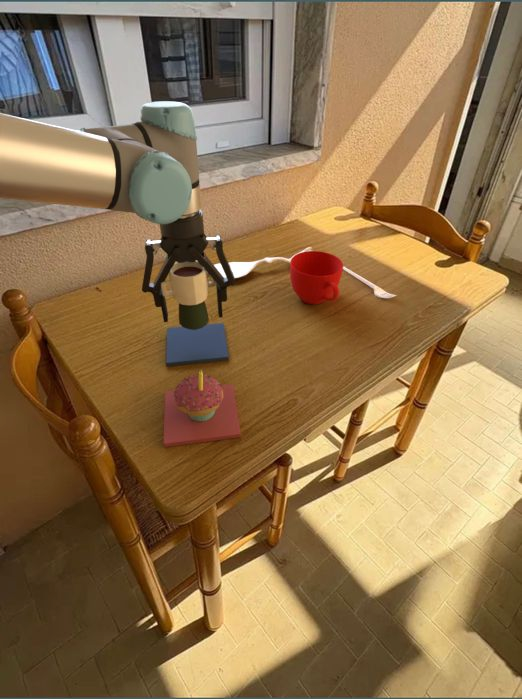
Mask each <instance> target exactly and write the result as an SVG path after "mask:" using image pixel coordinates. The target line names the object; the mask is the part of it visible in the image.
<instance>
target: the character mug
mask: <svg viewBox="0 0 522 699" xmlns="http://www.w3.org/2000/svg"><path fill="white" fill-rule="evenodd" d="M168 276H169V280H168V279H167V280H165V281H164V282H162V283H161V289H162V294H163V296H164V297H165V298H169V297H173V299H174V300H175V301H176V303H178V324H179V325H180V327H184V328H187V329H191V330H197V329H201V328H203V327H204V326H205V325H207V324H208V323H209V321H210V318H209V313H208V309H207V305H206V302H205V301H206V300H207V299H208V296H209V288H211V287H214V286H215V287H216V284H217V283H216V282H215V281H214V279H213V278H212V277H211V276H210V275H209V273H208V272H207V271H206V270H205V269H204V267H203V266H201V265H200V264H199V262H198V261H197V260H196V261H195V262H183V263H178V262H175V264H174V265H173V267H172V268H171V270H170V272H169V274H168ZM209 277H210V281H208V278H209ZM167 287H170V288H171V290H169V291H168V288H167Z"/></svg>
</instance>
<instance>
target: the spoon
mask: <svg viewBox="0 0 522 699" xmlns="http://www.w3.org/2000/svg"><path fill="white" fill-rule="evenodd" d="M307 251H314V250H313V247H312V246H308V247H306V248H304V249H303V250H301V251H300V252H297V253H295V254H294V255H292V256H291V257H290V258H287V257H282V256H276V257H267V256H266V257H264V258H263V259H259V260H255V261H232V262H229V261H228V263H229V265H230V268H231V270H232V272H233V275H234V278H235V279H240V278H242V277H245V276H247V275H248V274H250V273H251V272H252V271H253V270H254V269H255V268H256V267H257V266H259V265H261V264H271V263H274V262H283V263H287V264H290V261H291V259H292V258H293V257H294V256H295V255H297V254H299V253H302V252H307ZM213 265H214V266H215V267H216V269H217V270H218V271H219V272H220V273H221V275H222V276H223V277H224V278H226V275H225V272H224V270H223V268H222V265H221V263H220V262H219V263H215V264H213Z"/></svg>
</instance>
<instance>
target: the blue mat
mask: <svg viewBox="0 0 522 699" xmlns="http://www.w3.org/2000/svg"><path fill="white" fill-rule="evenodd" d="M165 352H166V354H165V365H166V367H174V366H184V365H193V364H194V365H195V364H196V365H197V364H205V363H215V362H216V363H217V362H223V361H229V360H230V355H229V349H228V342H227V336H226V330H225V323H224V322H218V323H209V324H208V323H207V325H205V326H204V327H203V328H201V329H197V330H191V329H187V328H184V327H182V326H175V327H174V326H172V327H167V328H166V351H165Z"/></svg>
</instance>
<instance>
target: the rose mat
mask: <svg viewBox="0 0 522 699" xmlns="http://www.w3.org/2000/svg"><path fill="white" fill-rule="evenodd" d="M220 385H221V386H222V390H223V400H222V402H221V403H220V405H219V407H218V408H217V409H216V410H215V413H214V415H213V416H212V417H211V418H210V419H208V420H206V421H195V420H193V419H192V418H190V416H189V415H188V414H186V413H184V412H182V411H180V410H178V409H177V406H176V403H175V400H174V391H175V390H169V391H164V413H163V414H164V417H163V420H164V421H163V447H164V448H169V447H176V446H185V445H193V444H200V443H207V442H215V441H222V440H231V439H238V438H241V437H242V435H241V428H240V422H239V421H240V420H239V414H238V408H237V402H236V396H235V390H234V389H235V388H234V384H233V383H230V384H220Z"/></svg>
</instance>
